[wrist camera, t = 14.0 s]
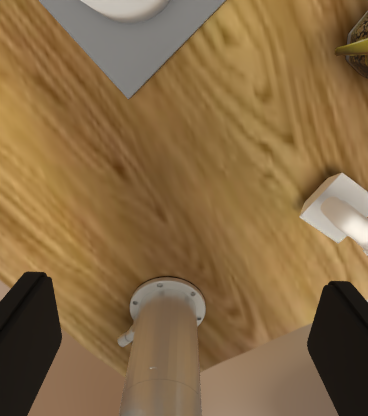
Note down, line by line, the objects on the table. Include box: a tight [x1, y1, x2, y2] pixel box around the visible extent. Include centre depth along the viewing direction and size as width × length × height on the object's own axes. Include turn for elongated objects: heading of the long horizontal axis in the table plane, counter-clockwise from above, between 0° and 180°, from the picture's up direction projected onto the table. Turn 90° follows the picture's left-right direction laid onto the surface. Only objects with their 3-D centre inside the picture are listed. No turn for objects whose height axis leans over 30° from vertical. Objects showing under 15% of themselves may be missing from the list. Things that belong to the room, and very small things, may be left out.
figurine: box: [299, 173, 368, 256], centre depth 32 cm, size 7×9×15 cm
